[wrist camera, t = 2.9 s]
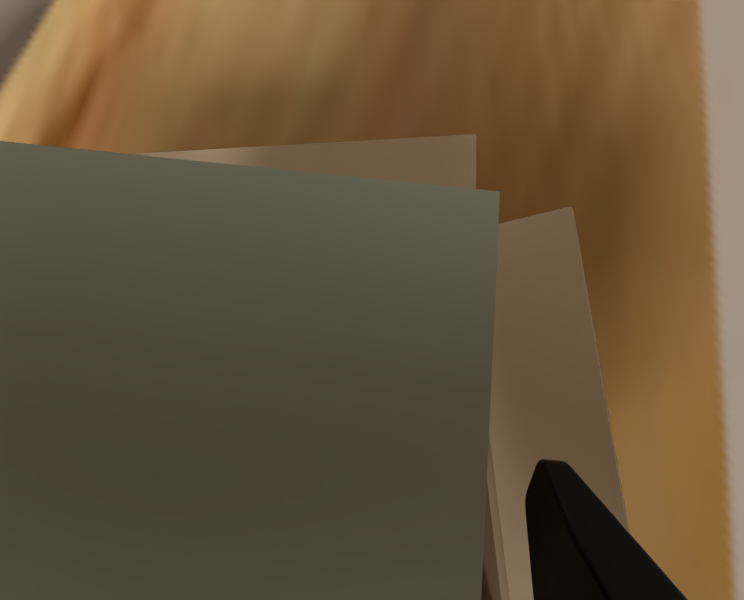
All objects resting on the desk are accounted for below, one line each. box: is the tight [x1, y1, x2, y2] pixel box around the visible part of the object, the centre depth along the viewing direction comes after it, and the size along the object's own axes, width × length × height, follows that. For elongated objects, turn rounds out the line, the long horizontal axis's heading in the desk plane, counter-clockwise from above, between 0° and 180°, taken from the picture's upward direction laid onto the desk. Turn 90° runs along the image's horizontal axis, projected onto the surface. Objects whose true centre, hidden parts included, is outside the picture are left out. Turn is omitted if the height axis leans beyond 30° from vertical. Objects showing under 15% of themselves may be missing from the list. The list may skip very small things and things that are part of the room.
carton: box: [133, 134, 629, 600], centre depth 14 cm, size 12×14×5 cm
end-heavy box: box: [0, 141, 500, 600], centre depth 10 cm, size 5×5×13 cm
